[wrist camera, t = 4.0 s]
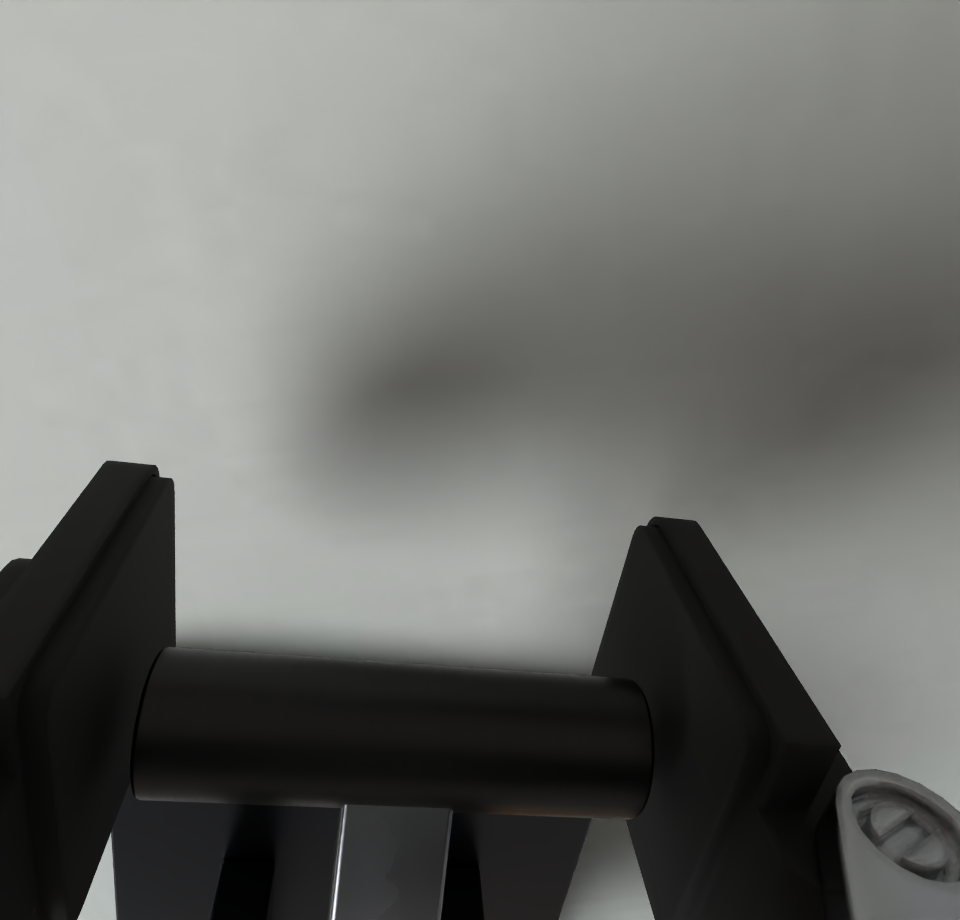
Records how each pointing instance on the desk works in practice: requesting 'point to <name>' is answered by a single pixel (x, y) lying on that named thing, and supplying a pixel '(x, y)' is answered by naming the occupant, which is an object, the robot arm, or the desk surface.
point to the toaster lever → (389, 755)
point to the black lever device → (321, 862)
